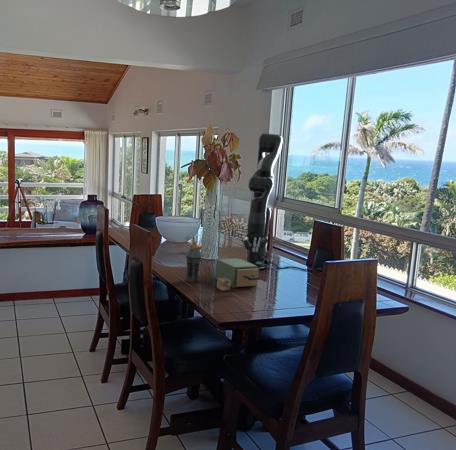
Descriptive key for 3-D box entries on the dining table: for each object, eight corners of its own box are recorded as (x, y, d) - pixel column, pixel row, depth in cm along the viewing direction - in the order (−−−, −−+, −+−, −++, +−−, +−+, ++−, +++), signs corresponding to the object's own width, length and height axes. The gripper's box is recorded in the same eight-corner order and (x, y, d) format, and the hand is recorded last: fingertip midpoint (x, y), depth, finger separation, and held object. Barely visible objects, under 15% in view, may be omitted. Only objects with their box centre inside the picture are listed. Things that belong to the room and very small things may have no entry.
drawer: (264, 288, 207) (266, 271, 206) (243, 290, 202) (245, 273, 200) (239, 277, 223) (241, 261, 222) (220, 278, 218) (221, 262, 217)
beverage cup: (202, 281, 214) (206, 239, 210) (193, 284, 208) (197, 241, 205) (190, 277, 218) (194, 236, 215) (180, 280, 213) (184, 238, 210)
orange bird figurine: (213, 256, 270) (215, 237, 268) (183, 253, 271) (184, 234, 269) (213, 253, 276) (215, 235, 275) (183, 250, 278) (185, 232, 276)
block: (224, 287, 207) (225, 277, 207) (230, 289, 204) (231, 280, 203) (216, 287, 206) (217, 278, 205) (222, 290, 202) (223, 281, 201)
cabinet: (254, 285, 213) (257, 265, 212) (232, 287, 208) (235, 267, 206) (236, 277, 226) (238, 258, 225) (214, 278, 221) (216, 259, 219)
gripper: (250, 223, 196) (245, 262, 199) (273, 223, 202) (269, 261, 205) (239, 220, 203) (235, 258, 205) (262, 220, 209) (258, 257, 211)
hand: (252, 259), depth 205 cm, fingers closed
